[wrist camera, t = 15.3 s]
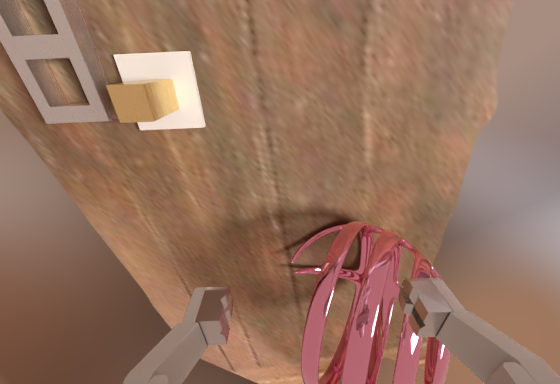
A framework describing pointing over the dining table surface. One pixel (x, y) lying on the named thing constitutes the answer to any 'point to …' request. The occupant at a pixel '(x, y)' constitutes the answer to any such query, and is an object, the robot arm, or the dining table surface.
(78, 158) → the dining table surface
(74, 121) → the rail
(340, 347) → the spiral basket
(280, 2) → the dining table surface
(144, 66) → the pad
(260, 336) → the dining table surface
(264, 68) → the dining table surface
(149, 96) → the block
